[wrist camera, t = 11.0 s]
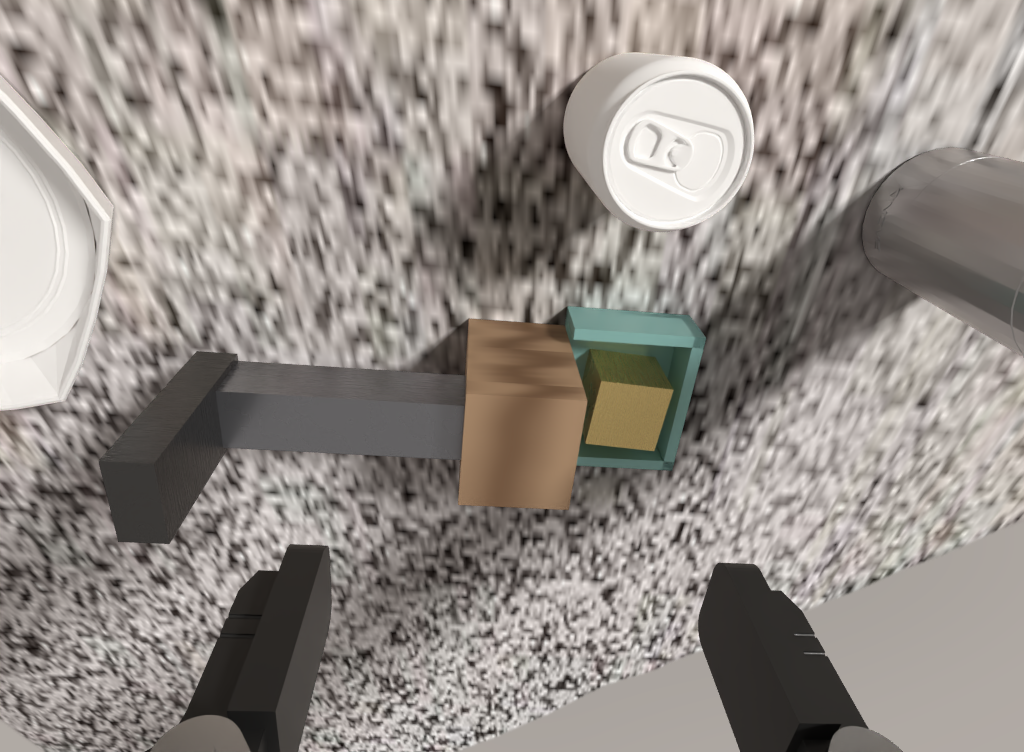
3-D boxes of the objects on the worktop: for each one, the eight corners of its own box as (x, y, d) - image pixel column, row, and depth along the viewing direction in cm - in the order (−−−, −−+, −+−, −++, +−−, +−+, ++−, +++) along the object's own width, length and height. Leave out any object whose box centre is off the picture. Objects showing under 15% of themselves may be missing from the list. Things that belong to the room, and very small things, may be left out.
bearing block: (564, 325, 47) (587, 401, 37) (551, 418, 50) (568, 509, 41) (468, 318, 46) (466, 393, 36) (461, 413, 50) (458, 504, 40)
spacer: (589, 348, 47) (655, 357, 47) (575, 407, 49) (638, 414, 50) (601, 380, 42) (673, 389, 43) (585, 443, 45) (654, 451, 45)
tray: (689, 315, 47) (706, 338, 43) (658, 441, 52) (671, 470, 48) (567, 306, 46) (575, 328, 43) (548, 434, 51) (553, 464, 48)
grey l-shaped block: (527, 372, 43) (543, 483, 32) (519, 435, 45) (532, 558, 34) (196, 351, 41) (98, 461, 30) (206, 418, 43) (118, 541, 33)
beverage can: (656, 205, 43) (714, 261, 32) (543, 165, 41) (566, 208, 31) (712, 80, 40) (797, 96, 29) (591, 31, 38) (635, 28, 27)
